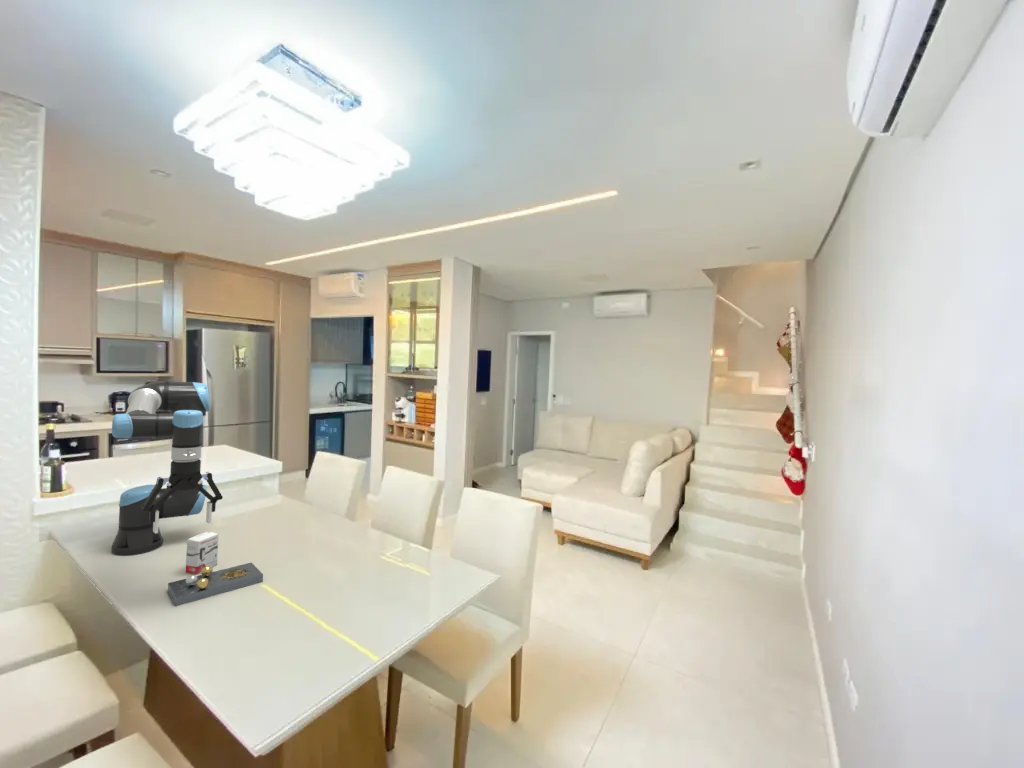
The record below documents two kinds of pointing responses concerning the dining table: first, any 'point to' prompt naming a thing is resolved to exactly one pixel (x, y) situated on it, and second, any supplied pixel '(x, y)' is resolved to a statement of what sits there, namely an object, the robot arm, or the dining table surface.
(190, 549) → the ink box
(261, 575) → the plate
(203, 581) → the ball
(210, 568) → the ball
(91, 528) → the dining table surface
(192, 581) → the steel ball
